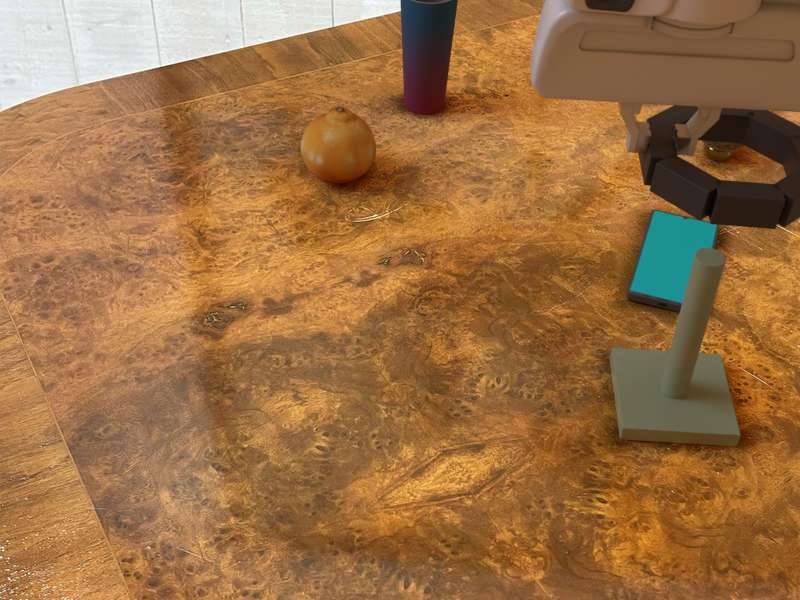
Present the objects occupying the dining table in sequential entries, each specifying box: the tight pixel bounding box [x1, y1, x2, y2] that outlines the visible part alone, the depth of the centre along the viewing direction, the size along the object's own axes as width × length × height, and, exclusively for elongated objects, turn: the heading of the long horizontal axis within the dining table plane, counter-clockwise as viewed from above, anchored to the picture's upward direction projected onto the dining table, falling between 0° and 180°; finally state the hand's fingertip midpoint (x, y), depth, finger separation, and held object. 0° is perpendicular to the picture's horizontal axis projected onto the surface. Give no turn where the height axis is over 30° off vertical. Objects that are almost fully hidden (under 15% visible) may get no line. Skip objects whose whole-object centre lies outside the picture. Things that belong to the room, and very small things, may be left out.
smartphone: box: [625, 208, 721, 313], centre depth 110 cm, size 7×1×15 cm
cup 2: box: [701, 141, 745, 162], centre depth 123 cm, size 8×7×8 cm
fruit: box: [300, 106, 377, 184], centre depth 119 cm, size 8×8×8 cm
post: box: [609, 248, 741, 447], centre depth 90 cm, size 10×10×16 cm
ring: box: [637, 105, 800, 230], centre depth 79 cm, size 13×13×2 cm
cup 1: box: [399, 0, 459, 115], centre depth 128 cm, size 7×7×15 cm
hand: (658, 150), depth 79 cm, fingers closed on ring, 2 cm apart
